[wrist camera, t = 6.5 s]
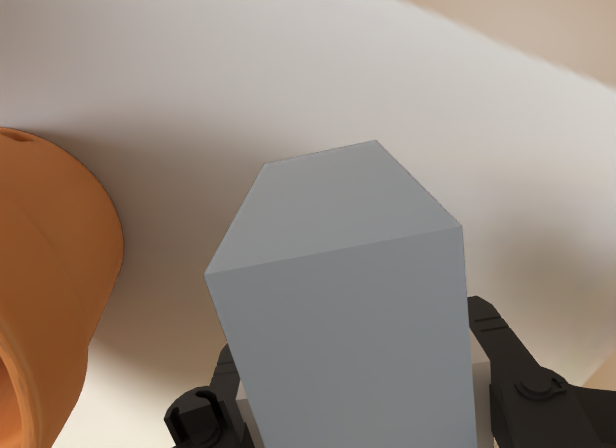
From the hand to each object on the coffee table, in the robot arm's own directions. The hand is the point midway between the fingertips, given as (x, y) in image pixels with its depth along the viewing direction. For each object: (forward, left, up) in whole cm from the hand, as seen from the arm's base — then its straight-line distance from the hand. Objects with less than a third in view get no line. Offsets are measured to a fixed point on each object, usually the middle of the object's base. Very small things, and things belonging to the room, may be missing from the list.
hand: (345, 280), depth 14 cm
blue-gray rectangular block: (0, 0, -1) cm, 1 cm away
